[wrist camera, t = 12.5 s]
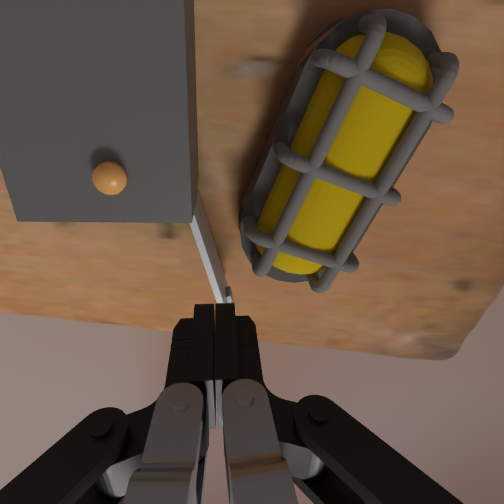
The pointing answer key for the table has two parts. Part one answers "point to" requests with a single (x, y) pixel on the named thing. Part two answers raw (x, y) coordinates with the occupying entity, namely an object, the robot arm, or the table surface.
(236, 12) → the table surface
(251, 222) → the cage light
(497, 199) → the table surface
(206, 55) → the table surface
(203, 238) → the side door
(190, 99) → the block
